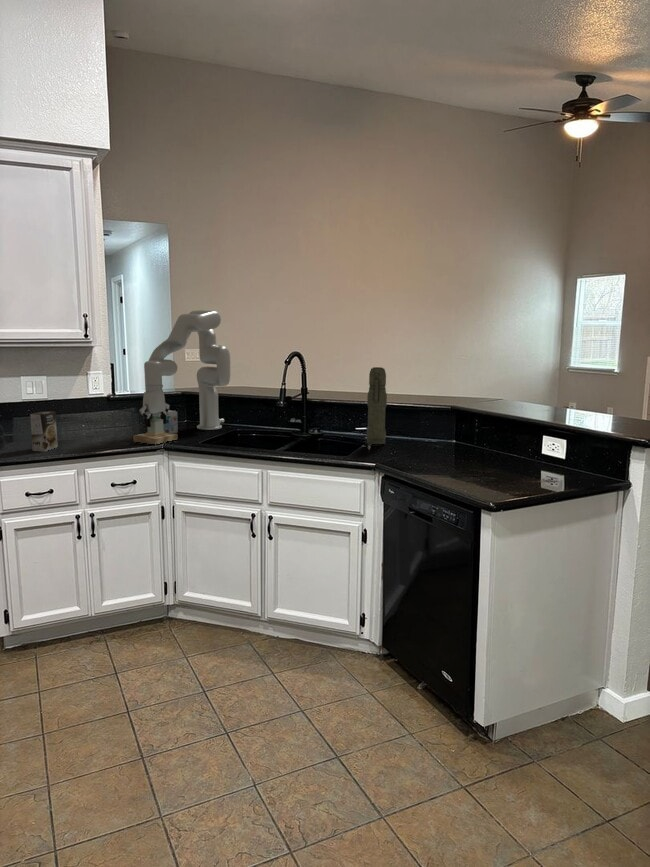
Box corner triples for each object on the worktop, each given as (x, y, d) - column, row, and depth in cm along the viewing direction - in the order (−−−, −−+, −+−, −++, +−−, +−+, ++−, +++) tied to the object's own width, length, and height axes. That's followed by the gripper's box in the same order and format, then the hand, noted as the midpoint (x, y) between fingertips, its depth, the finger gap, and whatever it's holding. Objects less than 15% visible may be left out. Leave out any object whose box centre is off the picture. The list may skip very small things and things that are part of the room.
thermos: (366, 445, 291) (368, 368, 285) (365, 440, 303) (367, 366, 296) (386, 446, 291) (388, 369, 285) (384, 441, 303) (386, 366, 296)
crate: (156, 433, 300) (155, 418, 299) (165, 434, 297) (164, 419, 296) (146, 435, 295) (145, 419, 294) (155, 436, 292) (154, 421, 291)
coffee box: (45, 451, 273) (42, 414, 270) (32, 451, 274) (29, 413, 271) (58, 447, 281) (56, 411, 278) (45, 446, 283) (42, 410, 280)
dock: (156, 437, 306) (156, 430, 306) (177, 440, 299) (177, 434, 299) (133, 442, 295) (133, 435, 294) (155, 445, 287) (155, 438, 287)
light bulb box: (161, 435, 311) (160, 413, 309) (152, 434, 315) (151, 412, 313) (178, 432, 319) (177, 411, 317) (169, 431, 323) (169, 409, 321)
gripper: (162, 385, 302) (163, 421, 305) (133, 389, 287) (135, 427, 291) (173, 386, 298) (175, 423, 301) (145, 391, 283) (147, 429, 287)
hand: (155, 425), depth 296 cm, fingers open, 9 cm apart
